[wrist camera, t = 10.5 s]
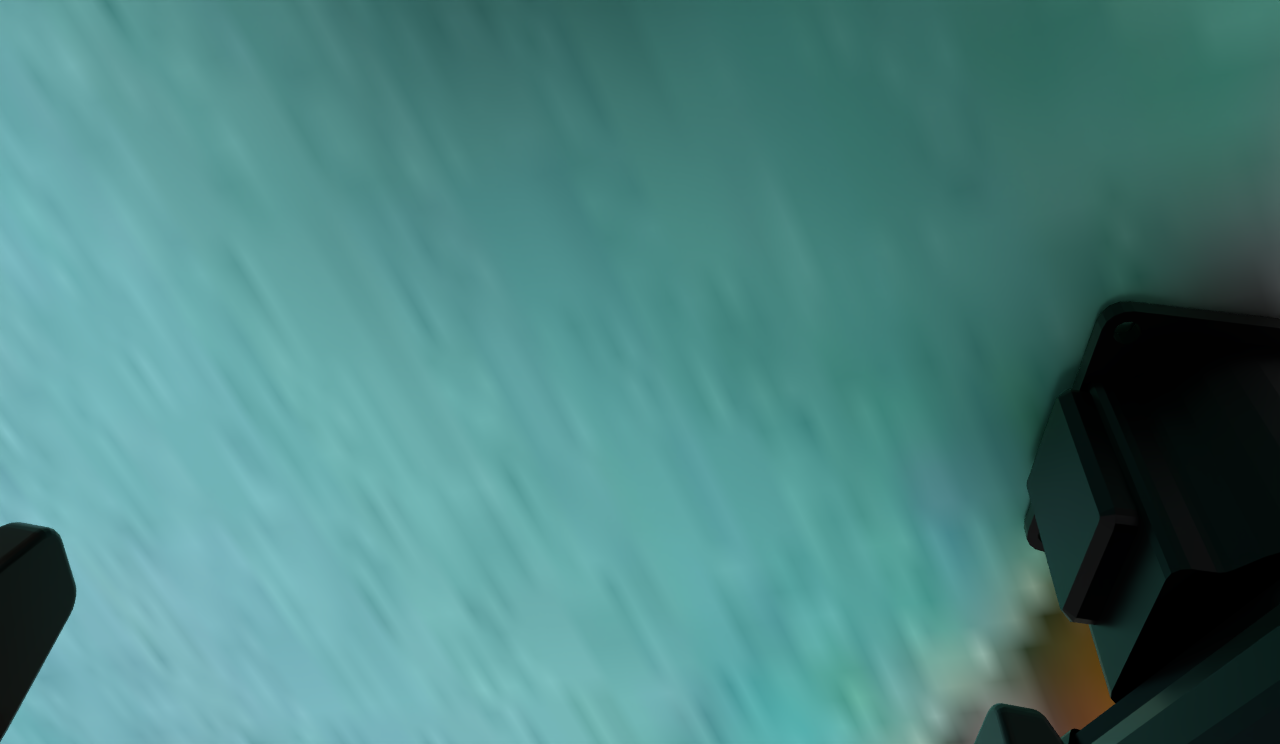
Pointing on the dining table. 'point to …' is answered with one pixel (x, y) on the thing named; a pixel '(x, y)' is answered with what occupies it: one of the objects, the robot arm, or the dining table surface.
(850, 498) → the dining table surface
